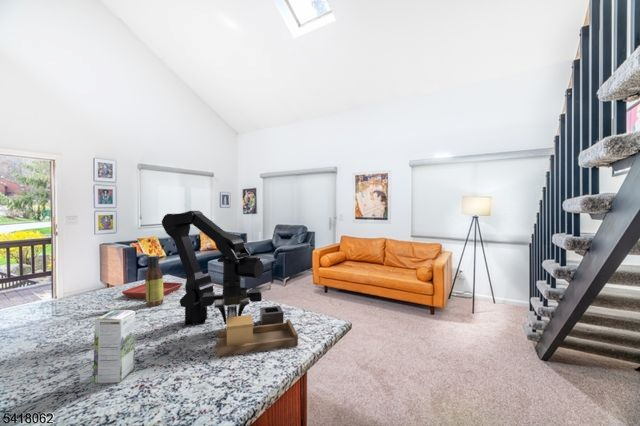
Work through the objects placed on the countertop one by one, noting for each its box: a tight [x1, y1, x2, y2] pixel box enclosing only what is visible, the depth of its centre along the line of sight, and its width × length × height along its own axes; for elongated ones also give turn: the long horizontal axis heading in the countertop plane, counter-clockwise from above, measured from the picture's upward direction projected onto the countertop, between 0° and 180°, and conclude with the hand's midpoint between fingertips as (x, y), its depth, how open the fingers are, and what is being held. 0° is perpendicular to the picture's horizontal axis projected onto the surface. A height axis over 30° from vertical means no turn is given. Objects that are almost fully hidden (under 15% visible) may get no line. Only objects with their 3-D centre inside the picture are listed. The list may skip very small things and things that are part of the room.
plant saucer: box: [121, 281, 184, 299], centre depth 129 cm, size 18×18×3 cm
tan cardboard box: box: [225, 314, 254, 346], centre depth 81 cm, size 7×7×6 cm
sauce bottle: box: [144, 254, 165, 307], centre depth 114 cm, size 6×6×20 cm
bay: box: [216, 318, 299, 358], centre depth 82 cm, size 22×12×3 cm, turn 108°
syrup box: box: [92, 309, 136, 385], centre depth 65 cm, size 6×6×14 cm
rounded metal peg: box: [226, 305, 238, 318], centre depth 92 cm, size 3×3×7 cm
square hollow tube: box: [259, 305, 284, 326], centre depth 96 cm, size 7×7×4 cm
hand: (231, 323), depth 92 cm, fingers open, 4 cm apart
